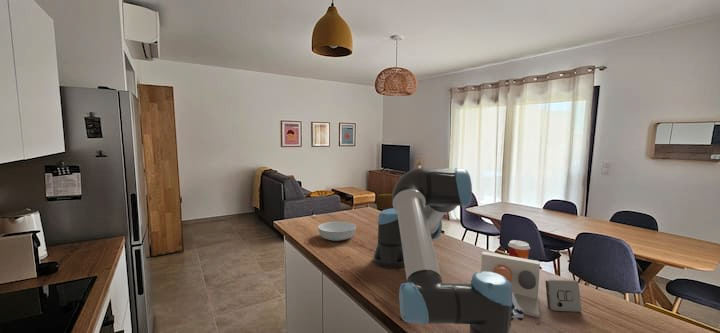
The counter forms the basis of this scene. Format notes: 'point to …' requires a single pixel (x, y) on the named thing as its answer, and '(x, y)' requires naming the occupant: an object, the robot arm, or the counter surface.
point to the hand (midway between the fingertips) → (500, 281)
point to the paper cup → (518, 249)
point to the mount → (518, 278)
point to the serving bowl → (336, 230)
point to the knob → (503, 272)
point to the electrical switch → (563, 295)
